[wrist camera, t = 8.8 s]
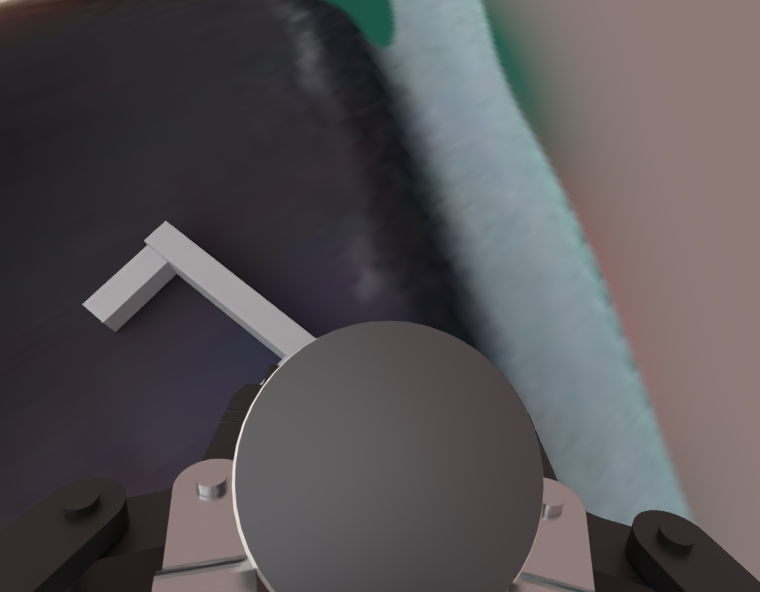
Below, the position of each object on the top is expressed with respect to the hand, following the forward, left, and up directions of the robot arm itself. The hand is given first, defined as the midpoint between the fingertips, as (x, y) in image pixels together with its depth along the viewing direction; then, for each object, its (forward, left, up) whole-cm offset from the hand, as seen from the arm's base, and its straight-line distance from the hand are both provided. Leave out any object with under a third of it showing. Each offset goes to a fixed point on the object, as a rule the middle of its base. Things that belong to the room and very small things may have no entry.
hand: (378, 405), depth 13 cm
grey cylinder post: (+1, -2, -5) cm, 5 cm away
